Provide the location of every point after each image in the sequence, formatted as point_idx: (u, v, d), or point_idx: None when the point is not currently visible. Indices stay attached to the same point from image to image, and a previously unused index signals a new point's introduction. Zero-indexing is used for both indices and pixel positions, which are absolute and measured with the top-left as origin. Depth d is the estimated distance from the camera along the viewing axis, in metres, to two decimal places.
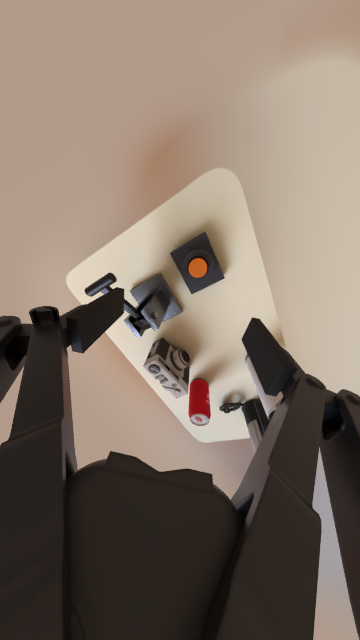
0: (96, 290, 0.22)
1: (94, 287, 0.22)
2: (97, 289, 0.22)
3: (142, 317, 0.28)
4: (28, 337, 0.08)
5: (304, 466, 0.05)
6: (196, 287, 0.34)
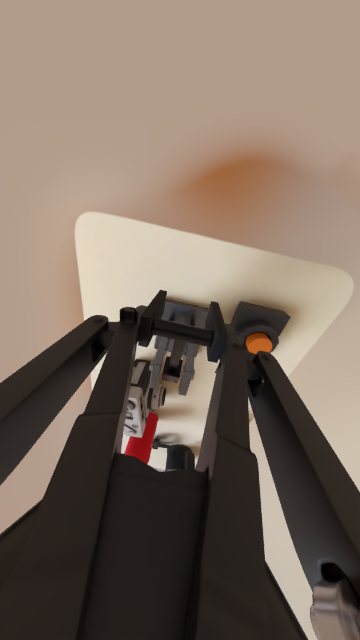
0: (171, 338, 0.12)
1: (174, 334, 0.12)
2: (175, 338, 0.12)
3: (178, 373, 0.19)
4: None
5: (240, 418, 0.06)
6: None
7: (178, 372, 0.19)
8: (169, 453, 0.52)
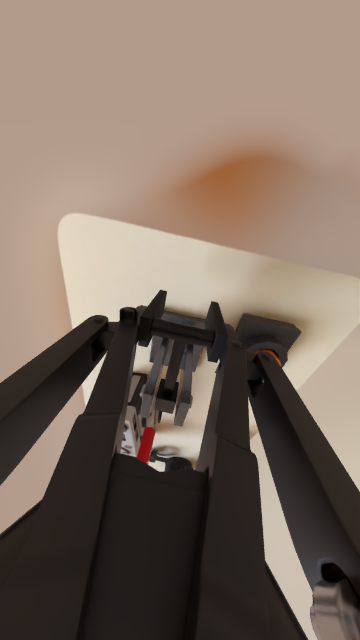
0: (171, 336, 0.12)
1: (174, 331, 0.12)
2: (175, 337, 0.12)
3: (174, 397, 0.17)
4: None
5: (240, 418, 0.06)
6: None
7: (174, 396, 0.17)
8: (167, 466, 0.49)
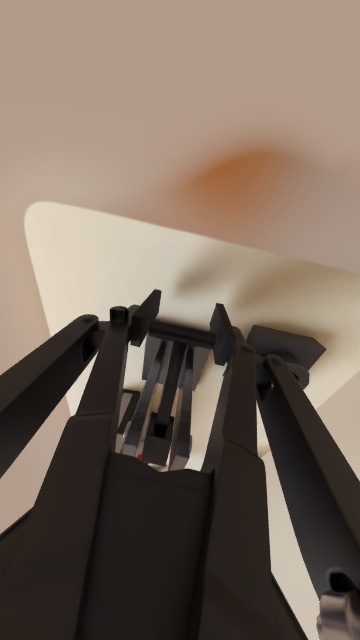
0: (171, 335, 0.11)
1: (175, 329, 0.11)
2: (175, 335, 0.11)
3: (169, 433, 0.13)
4: None
5: (248, 423, 0.06)
6: None
7: (169, 432, 0.13)
8: None
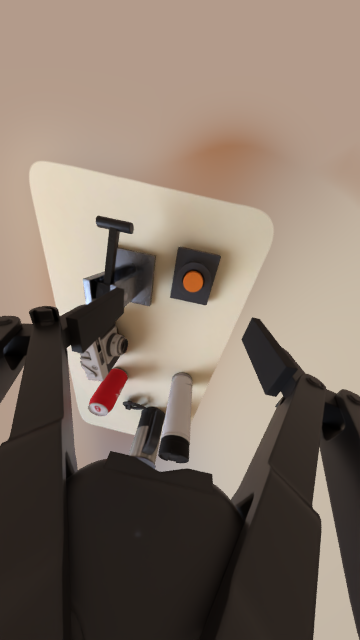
0: (107, 222, 0.21)
1: (109, 219, 0.21)
2: (109, 222, 0.21)
3: None
4: (28, 337, 0.08)
5: (304, 466, 0.05)
6: (178, 295, 0.32)
7: None
8: (142, 414, 0.55)
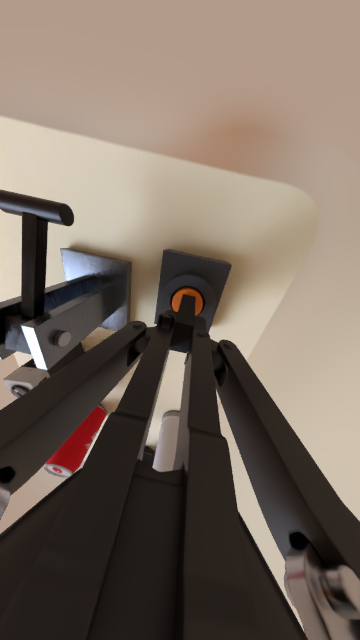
0: (15, 201, 0.11)
1: (20, 196, 0.11)
2: (19, 201, 0.11)
3: None
4: None
5: (210, 406, 0.06)
6: None
7: None
8: None
